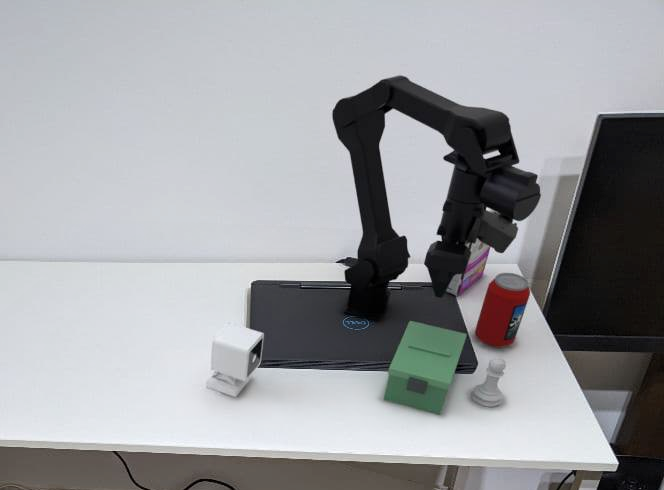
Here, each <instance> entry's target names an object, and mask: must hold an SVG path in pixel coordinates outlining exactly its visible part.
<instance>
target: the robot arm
mask: <svg viewBox="0 0 664 490" xmlns="http://www.w3.org/2000/svg"><path fill="white" fill-rule="evenodd" d="M392 110H394V111H397V112H399V113H401V114H403V115H405V116H407V117H409V118H411V119H412V120H414V121H416V122H419V123H420V124H422V125H424V126H426V127H429V128H430V129H432V130H434V131H436V132H438V133H439V134H441V136H442V137H443V138H444V140H445V143H446V144H447V146H449V147H450V148H451V149H452V151H450V152H449V153H447V154H445V155H444V156H443V158H442V160H443V161H444V162H447V163H449V164H451V165H453V169H452V174H451V178H450V182H449V186H448V190H447V194H446V198H445V200H444V203H443V205H442V215H441V219H440V223H439V225H438V228H437V229H436V230H437V231H436V236H440V239H441V240H436V241H434V242H432V243H431V244H429V247H428V249H427V251H426V253H425V258H424V263H423V265H424V266H425V268H427V271H428V274H429V277H430V281H431V285H432V288H433V292H434V296H435V297H436V298H438V299H439V298H440V299H442V298H443V297H444V295H445V293H447V292H446V290H447V288H448V286H449V284H450V282H451V280H452V278H453V277H454V276H455V275H457V274H463V273H465V272H466V269H467V266H468V263H469V260H470V257H471V253H472V252H471V251H470V250H469V248H468V247H467V246H466V244H468V243H474V244H475V243H476V240H477V238H478V239H479V240H480V241H481V242H483V243H485V244H486V245H488V246H490V248H492V249H493V250H494V252H496V253H498V254H504V253H505V252H506V250H508V248H509V247H510V245H511V244H512V243H513V241H514V240H515V239H516V238H517V234H518V232H519V227H518V223H517V222H522V221H524V220H526V219H527V218H528V217H530V216H531V215H532V214H533V212H534V211H535V209H537V207H538V205H539V202H540V200H541V196H542V193H541V186H540V184H539V183H537V180H538V178H539V177H538V176H539V175H538V174H537V173H534V172H532V171H526V170H523V169H521V168H518V167H515V166H516V165H517V164H519V163H520V157H519V153H518V150H517V148H516V144H515V140H514V136H513V133H512V126H511V124H510V118H509V116H508V115H507V114H506V113H504V112H502V111H499V110H495V109H491V108H486V107H479V106H467V105H463V104H459V103H458V102H455V101H453V100H452V99H449V98H447V97H445V96H442V95H440V94H438V93H437V92H434V91H432V90H431V89H428V88H426V87H424V86H421V85H420V84H417V83H416V82H413V81H412V80H410V79H409V78H408V77H407V76H404V75H400V74H399V75H396V76H392V77H387V78H383V79H380V80H379V81H377V82H376V83H375V84H373V85H371V86H370V87H369V88H367V89H365V90H363V91H361V92H358V93H356V94H354V95H351V96H347V97H343V98H341V99H339V100H338V101H337V102H336V103H335V105H334V108H333V109H332V113H331V116H332V122H333V127H334V129H335V132H336V136H337V138H338V140H339V142H341V144H342V145H343V146H344V147H345V149H346V150H347V152H348V153H349V156H350V157H349V158H350V164H351V169H352V175H353V182H354V187H355V194H356V198H357V204H358V205H357V206H358V211H359V217H360V222H361V223H360V224H361V228H362V230H361V231H362V236H361V239H360V242H359V245H358V247H357V251H356V252H357V253H356V254H357V255H356V256H357V263H356V264H354V265H352V266H350V267H348V268H346V269H345V270H343V271H344V272H343V273H344V281H345V282H346V283H347V284H349V285H350V287H349V294H348V300H347V305H346V307H345V308H344V311H343V313H344V314H347V315H350V316H355V317H358V318H364V319H367V320H371V321H375V322H378V321H379V320H381V317H382V315H384V314H385V313H386V310H387V309H388V305H389V301H390V295H391V291H392V289H391V288H389V285H390V282H391V281H395V280H397V279H398V278H399V276H401V275H402V274H404V273H405V271H406V269H407V268H408V267H409V259H411V255H410V252H409V249H408V248H409V247H408V238H407V236H406V235H401V236H400V235H399V234H398V233H397V232H396V230H395V229H394V228H393V225H392V219H391V212H390V206H389V200H388V193H387V188H386V187H387V186H386V181H385V175H384V169H383V163H382V162H383V161H382V155H381V150H380V143H381V141H382V137H383V135H384V132H385V128H386V114H388V113H390V112H391V111H392ZM494 152H498V153H499V154H496V155H493V156H490V157H487V158H485V157H484V156H485V155H488V154H491V153H494ZM486 208H490V209H492V210H494V212H493V213H491V212H489V211H487V210H486ZM495 211H496V212H495ZM514 221H516V222H514Z"/></svg>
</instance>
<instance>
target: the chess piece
mask: <svg viewBox="0 0 664 490" xmlns="http://www.w3.org/2000/svg"><path fill="white" fill-rule="evenodd" d="M506 367H507V362H506V360H505V359H504V358H503V357H501V356H493V357H491V358H490V360H489V361H488V367H486V368H485V369H484V370H485V373H486V378H485V380H484V381H483V383H481V384H477V385H475V386H474V388H473V390H472V391H471V394H470V396H471V398H472V400H473V401H474V402H475V403H476V404H478V405H479V406H482V407H487V408H492V407H493V408H495V407H497V406H499V405H501V404H502V402H503V399H502V398H503V392H502V390H500V389H499V387H498V383H499V380H500V378H501V377H503V376H504V375H505V371H504V370H505V369H506Z"/></svg>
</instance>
